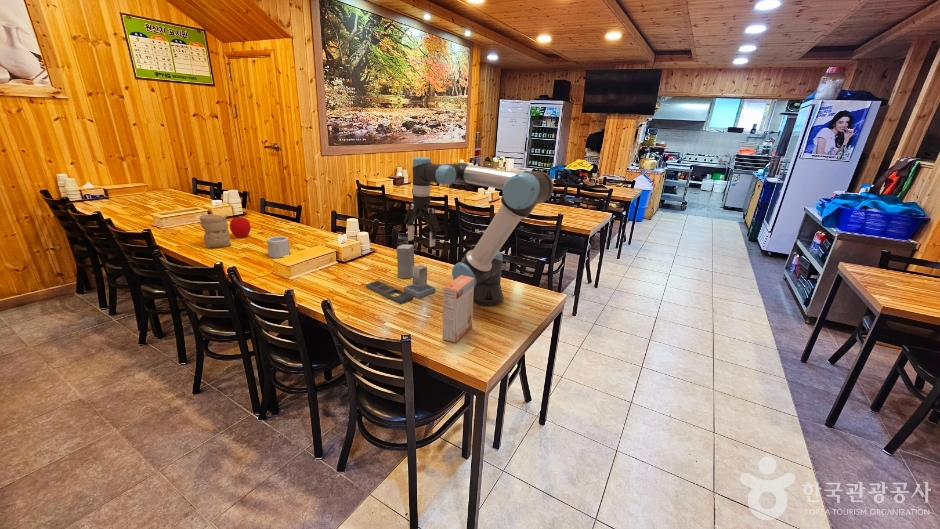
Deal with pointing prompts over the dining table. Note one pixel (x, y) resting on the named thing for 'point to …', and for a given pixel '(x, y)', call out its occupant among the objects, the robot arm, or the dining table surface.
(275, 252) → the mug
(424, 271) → the block
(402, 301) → the rail
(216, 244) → the container
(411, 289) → the parts tray
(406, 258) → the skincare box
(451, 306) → the cracker box
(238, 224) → the red apple
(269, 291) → the dining table surface
